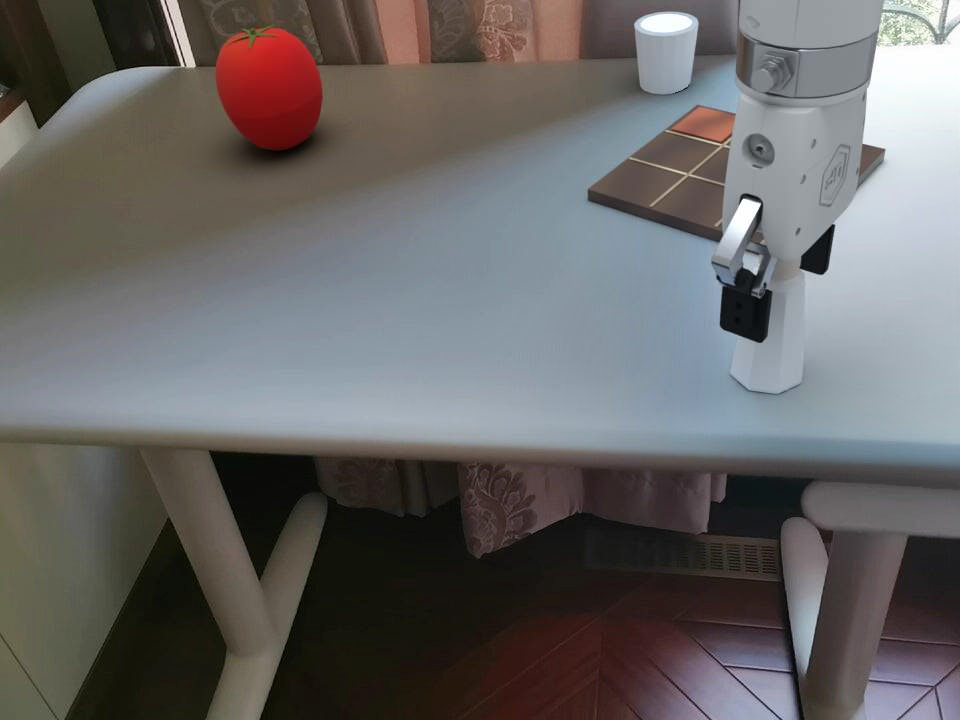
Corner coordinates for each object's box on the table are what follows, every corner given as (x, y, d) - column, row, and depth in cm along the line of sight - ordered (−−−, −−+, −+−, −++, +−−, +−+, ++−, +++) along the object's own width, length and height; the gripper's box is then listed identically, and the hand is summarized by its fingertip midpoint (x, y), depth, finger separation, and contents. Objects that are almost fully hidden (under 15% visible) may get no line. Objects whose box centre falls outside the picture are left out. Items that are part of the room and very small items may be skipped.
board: (883, 160, 91) (886, 146, 90) (785, 263, 80) (787, 249, 79) (696, 114, 101) (697, 102, 100) (587, 200, 91) (587, 187, 90)
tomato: (346, 148, 104) (322, 32, 95) (250, 178, 101) (216, 61, 92) (315, 111, 112) (289, 1, 104) (225, 137, 109) (191, 26, 101)
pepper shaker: (783, 405, 67) (801, 277, 60) (714, 376, 70) (723, 251, 63) (818, 363, 70) (840, 236, 63) (751, 338, 73) (764, 213, 66)
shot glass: (630, 96, 106) (630, 35, 102) (637, 70, 111) (637, 10, 107) (693, 97, 105) (696, 34, 100) (698, 70, 110) (700, 9, 105)
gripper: (796, 132, 48) (764, 391, 59) (929, 12, 57) (880, 255, 68) (665, 101, 52) (659, 348, 63) (810, -6, 61) (782, 225, 73)
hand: (774, 299), depth 66 cm, fingers open, 8 cm apart
